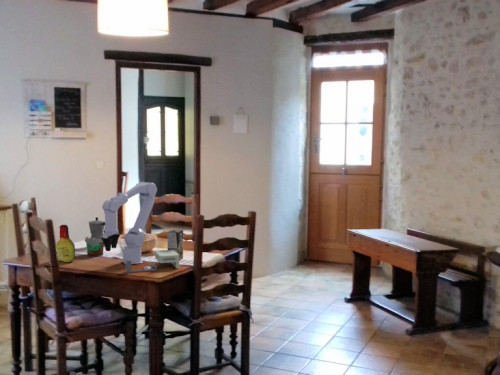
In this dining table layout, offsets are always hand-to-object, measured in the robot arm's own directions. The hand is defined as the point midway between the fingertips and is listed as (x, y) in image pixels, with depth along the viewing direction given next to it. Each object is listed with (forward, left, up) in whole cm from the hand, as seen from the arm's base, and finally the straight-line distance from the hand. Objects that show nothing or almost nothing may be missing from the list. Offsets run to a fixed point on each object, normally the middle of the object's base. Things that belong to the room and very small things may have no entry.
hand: (111, 249), depth 293 cm
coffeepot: (-2, +56, -10) cm, 57 cm away
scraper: (+14, -9, -9) cm, 19 cm away
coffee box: (+35, +8, -10) cm, 37 cm away
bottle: (-22, +21, -10) cm, 32 cm away
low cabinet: (+28, -5, -9) cm, 30 cm away
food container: (-7, +32, -10) cm, 34 cm away
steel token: (+18, -8, -10) cm, 22 cm away
